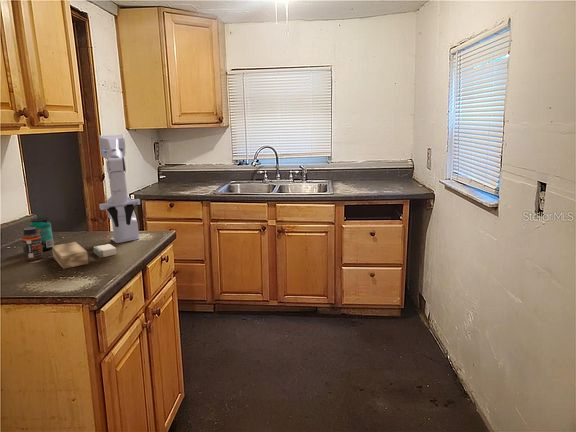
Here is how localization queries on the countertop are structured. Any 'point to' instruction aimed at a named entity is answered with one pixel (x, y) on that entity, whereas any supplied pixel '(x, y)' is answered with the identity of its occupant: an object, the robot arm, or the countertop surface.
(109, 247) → the white block
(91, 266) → the countertop surface
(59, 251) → the tan rectangular block
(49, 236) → the beverage can
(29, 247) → the supplement bottle
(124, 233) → the robot arm
